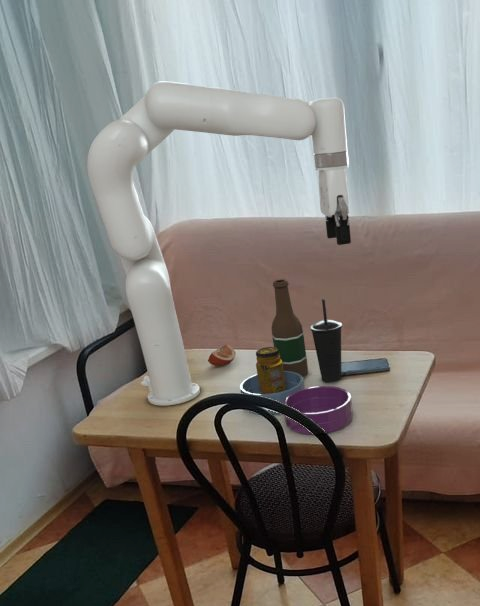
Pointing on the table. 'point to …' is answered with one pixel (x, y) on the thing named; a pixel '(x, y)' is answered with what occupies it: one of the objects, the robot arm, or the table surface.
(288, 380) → the slate bowl
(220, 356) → the fruit slice
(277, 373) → the condiment
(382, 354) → the table surface
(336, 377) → the drinking cup
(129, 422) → the table surface
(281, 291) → the beer bottle
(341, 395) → the plum bowl
